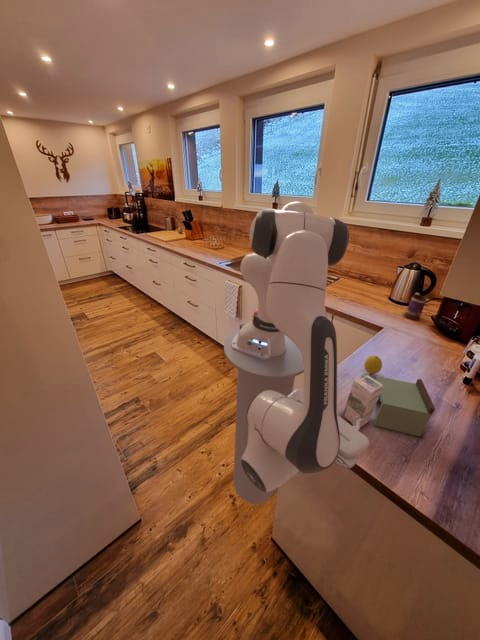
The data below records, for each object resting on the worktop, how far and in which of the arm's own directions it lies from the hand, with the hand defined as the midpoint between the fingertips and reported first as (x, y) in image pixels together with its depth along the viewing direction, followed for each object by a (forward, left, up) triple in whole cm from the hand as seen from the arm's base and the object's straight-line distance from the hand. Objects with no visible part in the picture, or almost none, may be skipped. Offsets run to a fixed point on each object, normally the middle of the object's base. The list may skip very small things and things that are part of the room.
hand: (342, 407), depth 66 cm
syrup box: (+7, +10, -13) cm, 18 cm away
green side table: (+18, +15, -13) cm, 27 cm away
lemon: (+14, +34, -13) cm, 39 cm away
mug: (+42, +93, -13) cm, 103 cm away
